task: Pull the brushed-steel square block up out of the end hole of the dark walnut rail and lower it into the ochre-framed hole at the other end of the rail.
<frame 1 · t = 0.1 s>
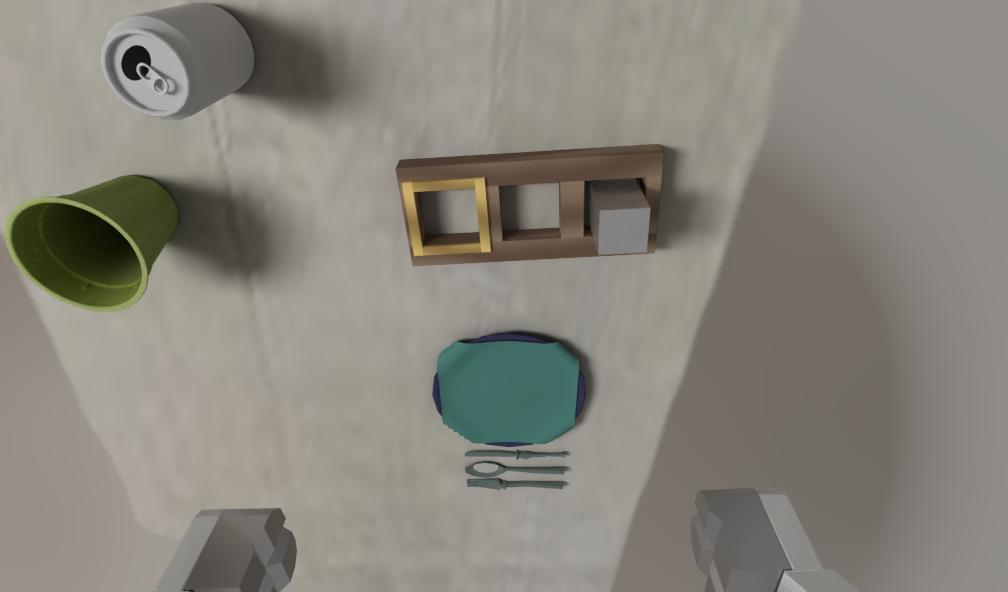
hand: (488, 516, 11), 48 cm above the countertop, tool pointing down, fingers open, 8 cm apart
plant pot: (146, 206, 59), on the countertop
can: (217, 47, 51), on the countertop
walnut rail: (529, 202, 59), on the countertop
steel block: (610, 198, 59), resting in walnut rail
cutlery set: (509, 411, 76), on the countertop
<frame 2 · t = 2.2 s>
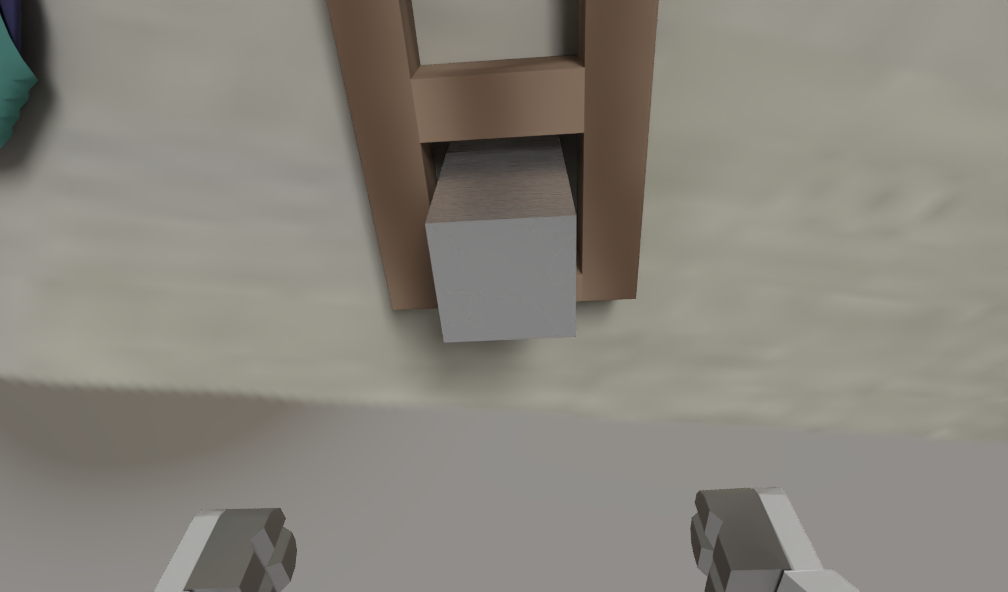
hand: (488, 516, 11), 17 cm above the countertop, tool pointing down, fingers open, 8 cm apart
steel block: (507, 188, 25), resting in walnut rail
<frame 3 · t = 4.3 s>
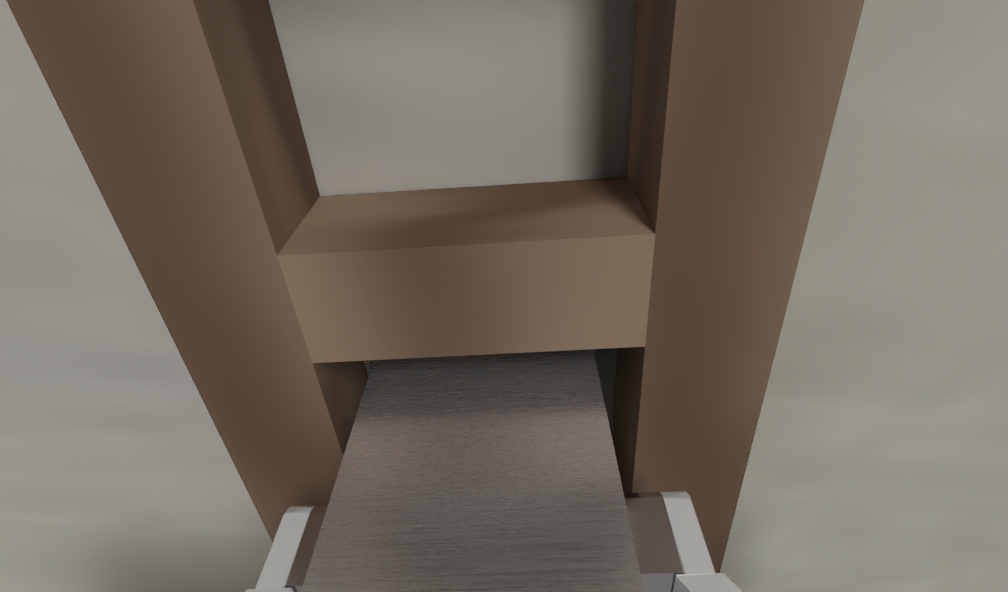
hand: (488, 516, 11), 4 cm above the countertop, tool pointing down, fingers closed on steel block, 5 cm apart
walnut rail: (453, 15, 9), on the countertop
steel block: (492, 387, 14), resting in walnut rail, touching gripper
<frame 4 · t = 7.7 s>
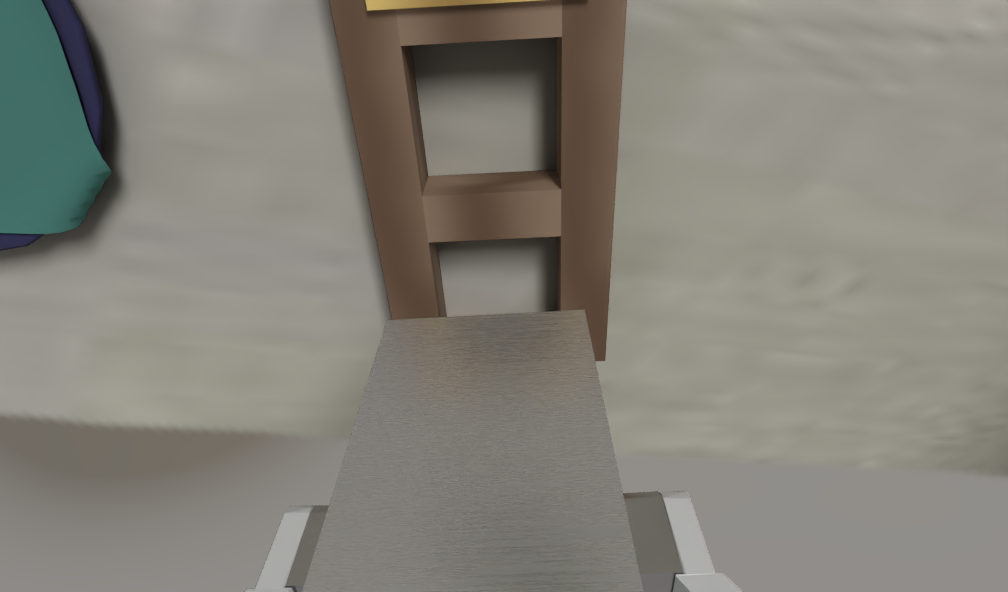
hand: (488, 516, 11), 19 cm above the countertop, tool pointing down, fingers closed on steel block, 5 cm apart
walnut rail: (487, 107, 25), on the countertop
steel block: (492, 389, 14), point 15 cm above the countertop, touching gripper
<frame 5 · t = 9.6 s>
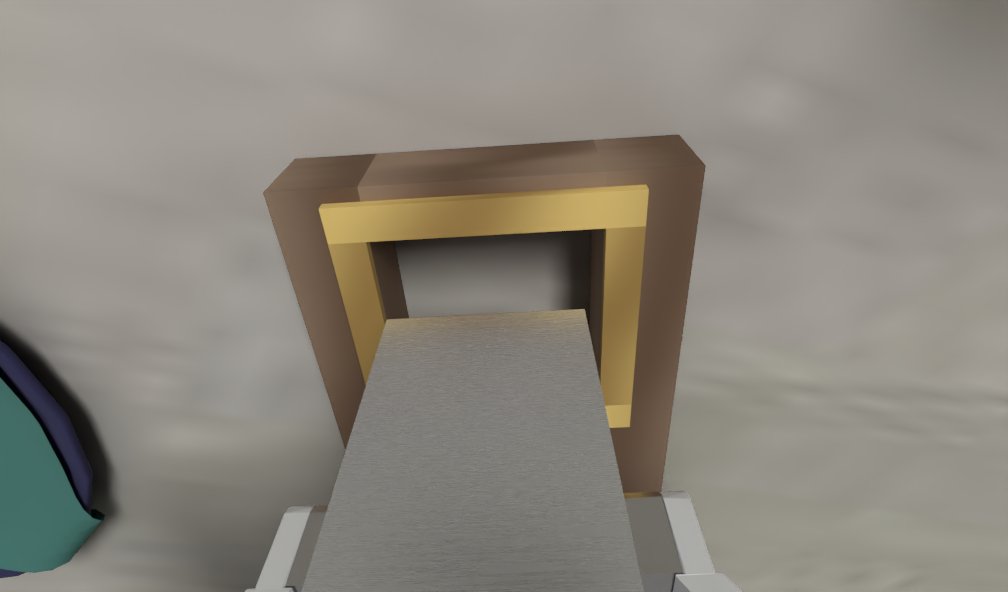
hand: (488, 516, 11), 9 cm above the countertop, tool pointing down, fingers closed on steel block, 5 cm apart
walnut rail: (510, 456, 23), on the countertop
steel block: (492, 388, 14), point 5 cm above the countertop, touching gripper
when the fingers open (5 cm above the countertop, at t = 11.2 s): steel block stays where it is, resting in walnut rail.
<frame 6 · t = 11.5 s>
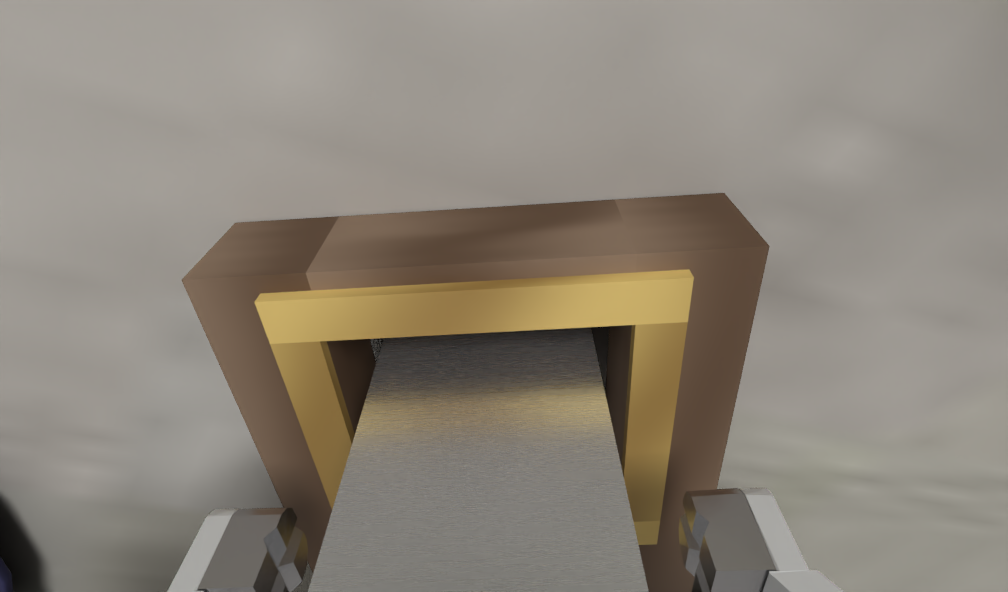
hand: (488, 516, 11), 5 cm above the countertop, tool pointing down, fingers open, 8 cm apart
walnut rail: (510, 549, 19), on the countertop
steel block: (495, 363, 15), resting in walnut rail
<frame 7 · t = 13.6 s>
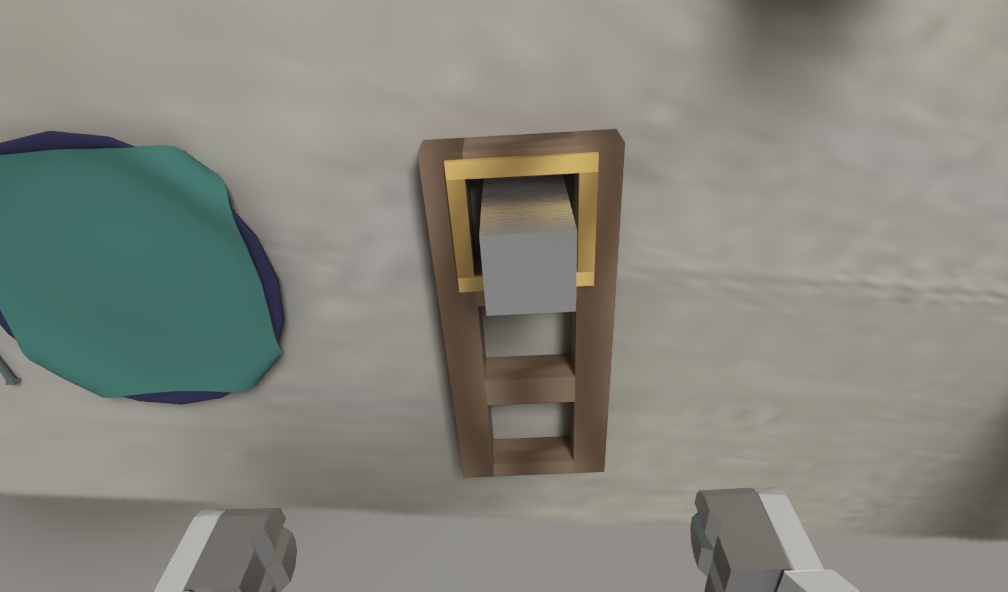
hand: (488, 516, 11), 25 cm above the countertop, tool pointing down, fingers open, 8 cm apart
walnut rail: (527, 321, 39), on the countertop
steel block: (524, 208, 34), resting in walnut rail
cutlery set: (68, 275, 37), on the countertop
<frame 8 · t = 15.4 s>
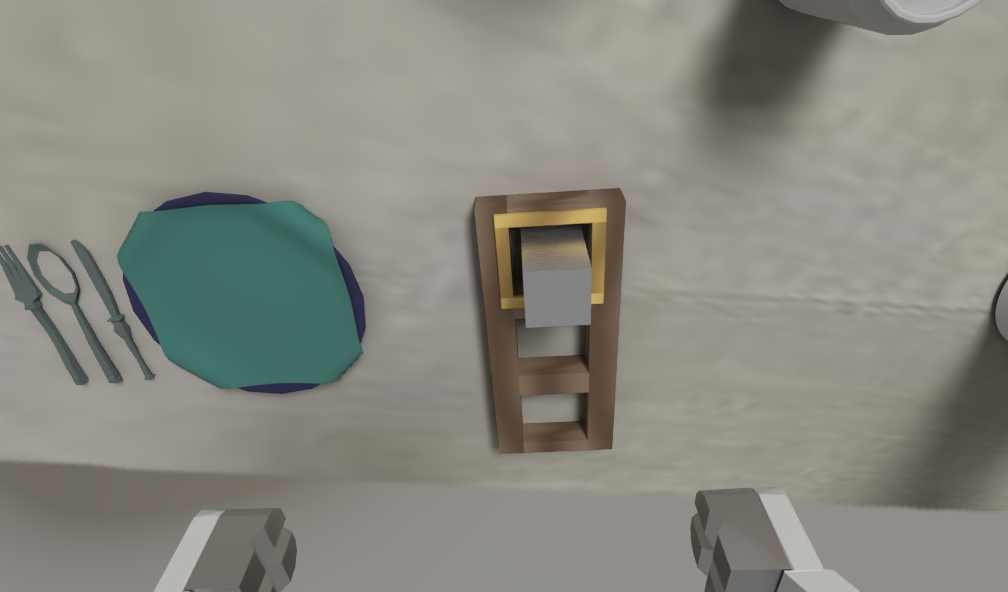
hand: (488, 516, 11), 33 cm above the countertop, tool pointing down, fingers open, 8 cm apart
walnut rail: (551, 329, 49), on the countertop
steel block: (550, 245, 45), resting in walnut rail
cutlery set: (199, 295, 49), on the countertop
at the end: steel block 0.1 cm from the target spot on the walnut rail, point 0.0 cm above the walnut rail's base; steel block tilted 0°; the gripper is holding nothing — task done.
